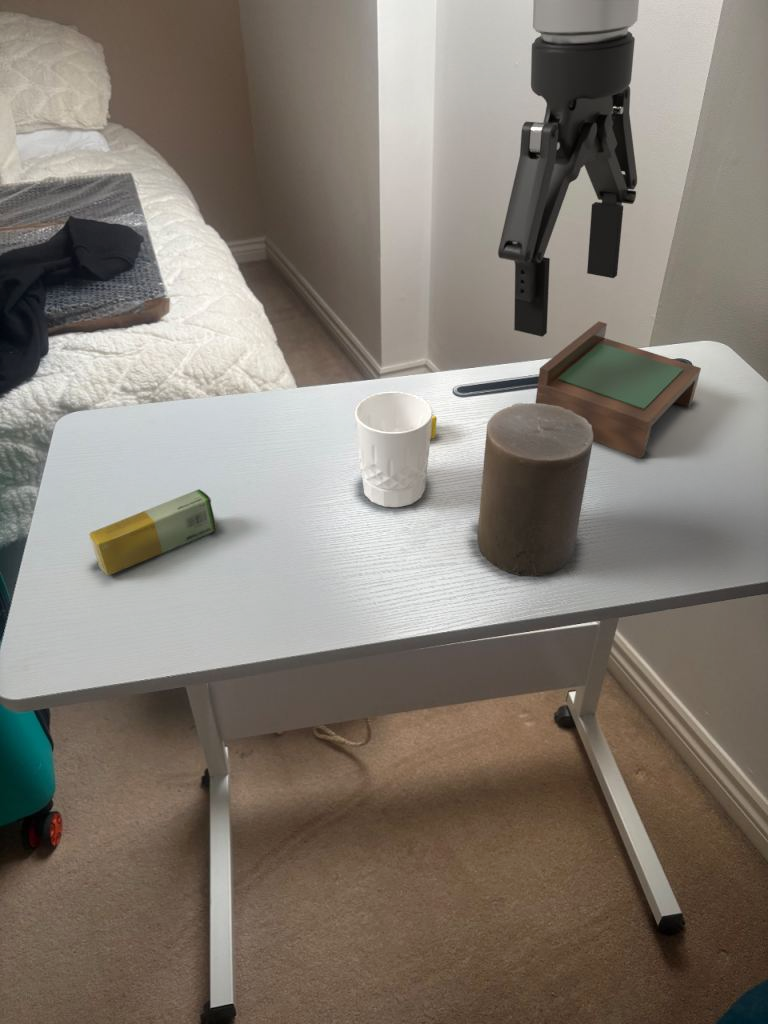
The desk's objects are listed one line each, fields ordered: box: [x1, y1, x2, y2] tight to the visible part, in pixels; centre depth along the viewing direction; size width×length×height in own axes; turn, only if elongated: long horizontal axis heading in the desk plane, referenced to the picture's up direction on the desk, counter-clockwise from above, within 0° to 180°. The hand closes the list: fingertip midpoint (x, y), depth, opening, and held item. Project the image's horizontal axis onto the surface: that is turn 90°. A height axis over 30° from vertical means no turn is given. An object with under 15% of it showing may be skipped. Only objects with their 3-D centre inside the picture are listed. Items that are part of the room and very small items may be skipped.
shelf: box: [535, 320, 702, 459], centre depth 100 cm, size 14×15×7 cm
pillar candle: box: [476, 402, 594, 577], centre depth 79 cm, size 10×10×15 cm
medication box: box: [88, 488, 218, 577], centre depth 82 cm, size 12×3×4 cm, turn 127°
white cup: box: [354, 391, 433, 508], centre depth 88 cm, size 8×8×10 cm
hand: (568, 302), depth 75 cm, fingers open, 13 cm apart
